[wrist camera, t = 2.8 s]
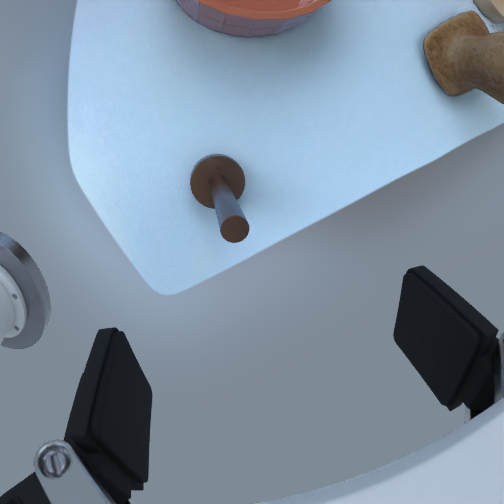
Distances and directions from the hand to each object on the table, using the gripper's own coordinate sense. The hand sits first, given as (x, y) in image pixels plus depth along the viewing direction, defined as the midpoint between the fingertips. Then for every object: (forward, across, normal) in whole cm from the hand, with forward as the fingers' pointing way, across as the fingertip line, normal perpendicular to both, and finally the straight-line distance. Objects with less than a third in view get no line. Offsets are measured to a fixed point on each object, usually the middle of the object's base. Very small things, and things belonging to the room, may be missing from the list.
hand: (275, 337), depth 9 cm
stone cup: (+24, -34, -15) cm, 44 cm away
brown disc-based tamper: (+23, 0, 0) cm, 23 cm away
